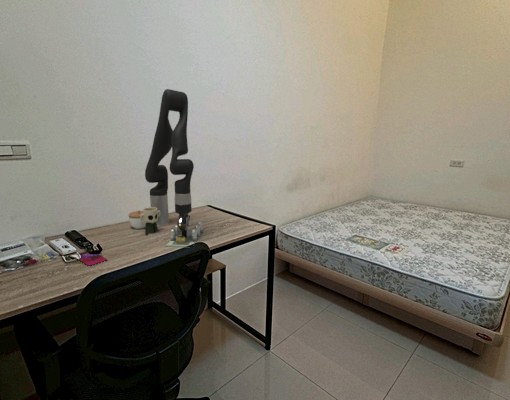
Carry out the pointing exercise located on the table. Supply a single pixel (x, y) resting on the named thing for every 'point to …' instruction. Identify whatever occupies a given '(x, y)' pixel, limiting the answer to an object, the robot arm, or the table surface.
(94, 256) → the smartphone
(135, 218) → the lidded jar
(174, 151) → the robot arm
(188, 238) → the mat
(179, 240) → the nut
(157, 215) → the character mug
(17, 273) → the table surface
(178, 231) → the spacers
